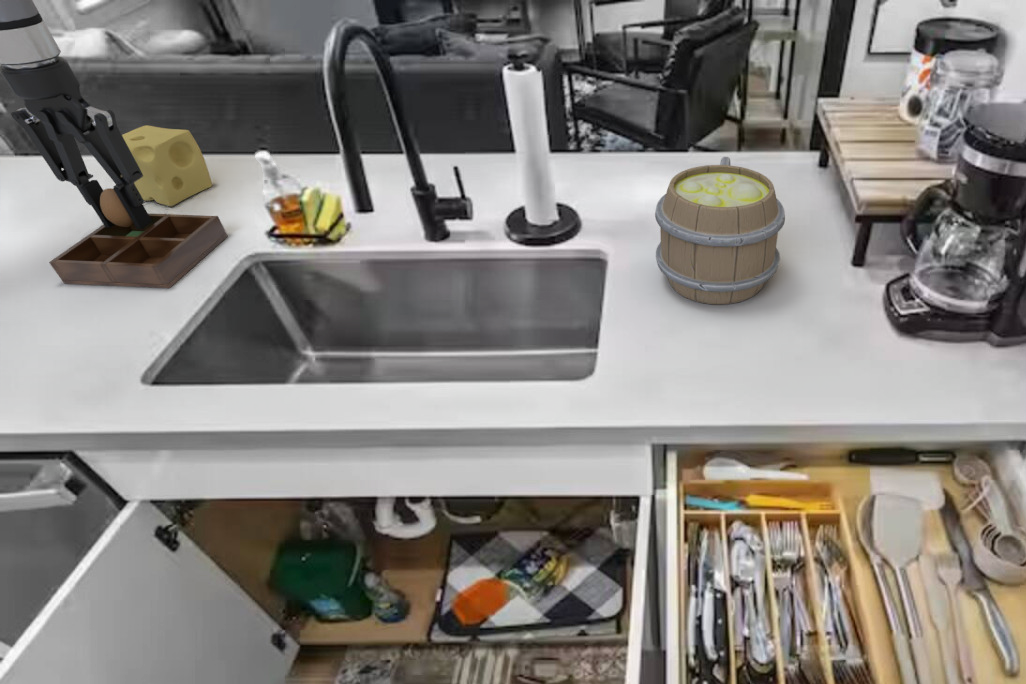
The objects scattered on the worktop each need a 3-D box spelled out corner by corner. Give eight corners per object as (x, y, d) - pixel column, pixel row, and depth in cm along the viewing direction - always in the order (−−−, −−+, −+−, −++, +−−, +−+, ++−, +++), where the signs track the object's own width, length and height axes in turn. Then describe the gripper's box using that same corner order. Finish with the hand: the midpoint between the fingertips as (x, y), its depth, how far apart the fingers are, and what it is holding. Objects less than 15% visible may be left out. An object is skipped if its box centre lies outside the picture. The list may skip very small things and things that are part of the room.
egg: (135, 232, 105) (113, 195, 100) (107, 232, 105) (83, 195, 100) (151, 219, 108) (130, 183, 104) (123, 219, 108) (101, 182, 104)
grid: (64, 283, 100) (48, 262, 98) (133, 232, 112) (121, 212, 109) (169, 288, 100) (156, 266, 97) (228, 236, 111) (217, 215, 109)
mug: (776, 236, 113) (787, 145, 103) (776, 317, 96) (790, 217, 86) (667, 229, 115) (667, 139, 104) (648, 308, 97) (646, 209, 87)
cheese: (172, 208, 119) (140, 150, 112) (126, 198, 121) (92, 141, 114) (218, 184, 126) (191, 129, 119) (173, 176, 128) (145, 121, 121)
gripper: (111, 54, 92) (195, 215, 109) (-10, 51, 93) (92, 211, 109) (73, 70, 87) (168, 237, 103) (-55, 66, 87) (59, 233, 104)
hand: (129, 224), depth 106 cm, fingers closed on egg, 4 cm apart
